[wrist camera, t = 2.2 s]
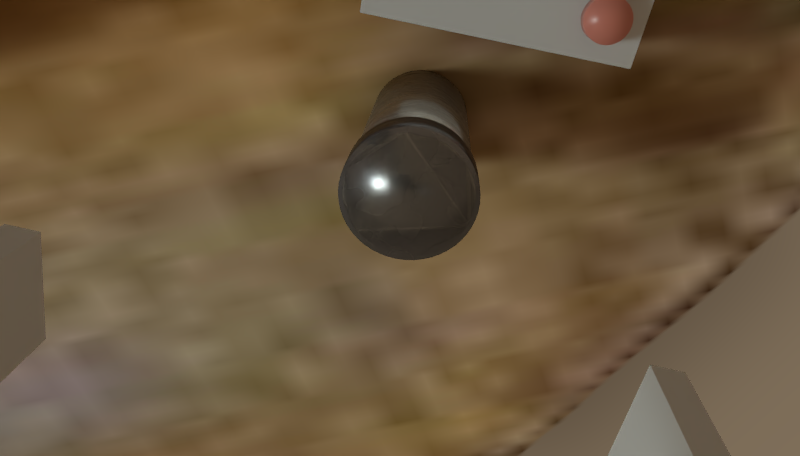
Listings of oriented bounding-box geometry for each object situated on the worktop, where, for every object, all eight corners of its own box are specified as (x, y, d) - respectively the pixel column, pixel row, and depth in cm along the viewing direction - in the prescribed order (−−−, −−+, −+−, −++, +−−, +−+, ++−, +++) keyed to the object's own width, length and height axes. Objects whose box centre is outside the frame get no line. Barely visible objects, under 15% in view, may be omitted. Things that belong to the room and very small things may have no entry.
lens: (379, 57, 29) (349, 114, 20) (480, 78, 29) (496, 144, 20) (362, 153, 31) (329, 245, 22) (457, 173, 31) (461, 271, 22)
